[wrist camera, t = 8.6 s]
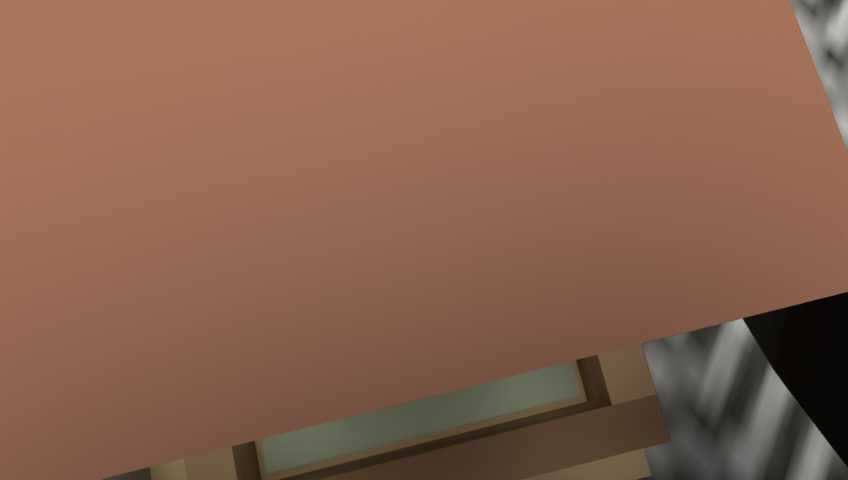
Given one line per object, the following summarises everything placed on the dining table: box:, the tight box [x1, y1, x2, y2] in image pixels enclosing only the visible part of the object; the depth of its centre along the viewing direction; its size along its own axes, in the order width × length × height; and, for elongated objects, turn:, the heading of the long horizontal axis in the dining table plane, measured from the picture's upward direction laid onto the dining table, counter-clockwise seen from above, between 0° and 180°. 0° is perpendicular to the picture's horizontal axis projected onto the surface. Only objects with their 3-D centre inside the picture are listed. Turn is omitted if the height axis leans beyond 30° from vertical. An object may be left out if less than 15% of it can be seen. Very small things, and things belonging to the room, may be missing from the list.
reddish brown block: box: [0, 0, 848, 480], centre depth 10 cm, size 5×5×13 cm
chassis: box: [100, 344, 671, 480], centre depth 16 cm, size 15×20×4 cm
